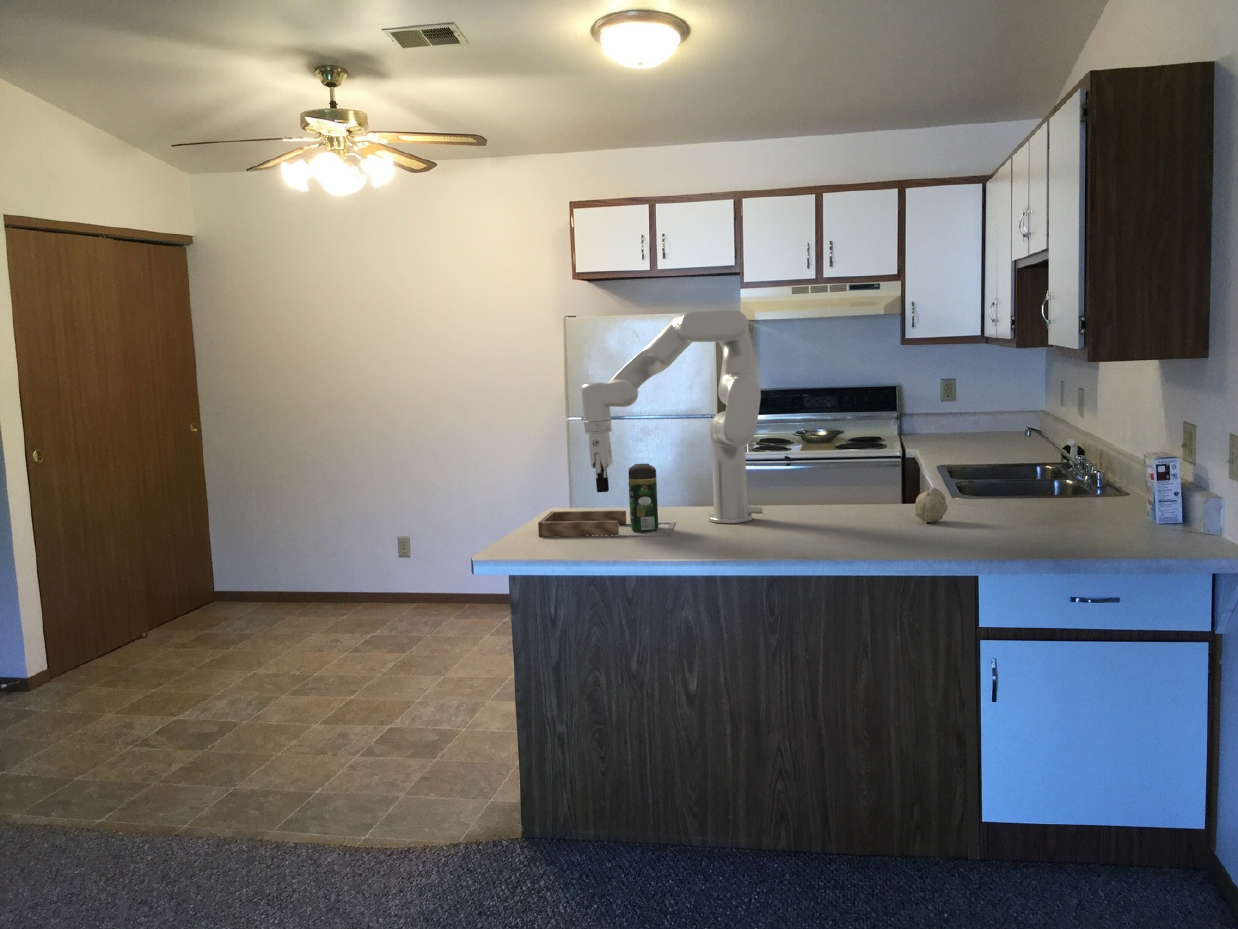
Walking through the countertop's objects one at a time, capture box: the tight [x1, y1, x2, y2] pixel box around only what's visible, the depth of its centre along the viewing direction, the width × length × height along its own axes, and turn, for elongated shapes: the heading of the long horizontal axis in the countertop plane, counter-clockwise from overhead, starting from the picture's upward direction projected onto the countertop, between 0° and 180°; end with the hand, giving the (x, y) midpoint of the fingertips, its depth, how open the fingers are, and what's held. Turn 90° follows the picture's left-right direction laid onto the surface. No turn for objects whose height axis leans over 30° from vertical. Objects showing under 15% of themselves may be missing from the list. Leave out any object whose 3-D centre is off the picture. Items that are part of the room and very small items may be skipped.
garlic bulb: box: [914, 487, 949, 523], centre depth 266 cm, size 10×8×10 cm
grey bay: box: [617, 521, 677, 537], centre depth 273 cm, size 14×19×1 cm
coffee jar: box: [628, 463, 659, 533], centre depth 272 cm, size 10×8×19 cm
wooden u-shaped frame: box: [537, 509, 627, 537], centre depth 275 cm, size 22×17×4 cm
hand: (603, 491), depth 273 cm, fingers closed
